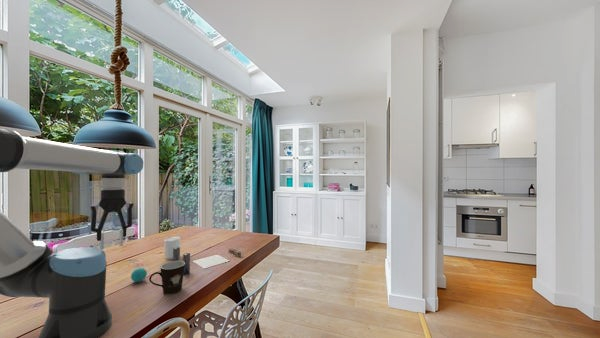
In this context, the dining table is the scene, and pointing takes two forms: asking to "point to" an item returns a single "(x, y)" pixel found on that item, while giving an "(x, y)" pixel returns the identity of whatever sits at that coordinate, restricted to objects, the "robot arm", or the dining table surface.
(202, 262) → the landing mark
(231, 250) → the stopper wall
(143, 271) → the ball
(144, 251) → the dining table surface
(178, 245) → the white cup
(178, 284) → the coffee mug
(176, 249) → the far post
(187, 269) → the near post
